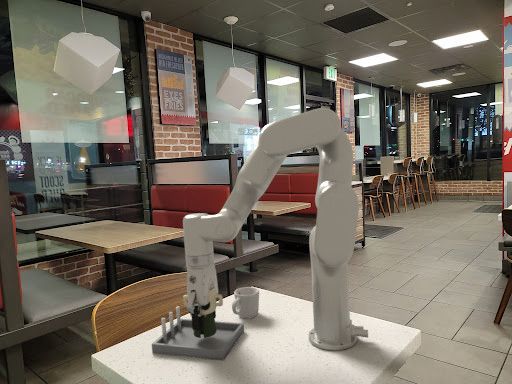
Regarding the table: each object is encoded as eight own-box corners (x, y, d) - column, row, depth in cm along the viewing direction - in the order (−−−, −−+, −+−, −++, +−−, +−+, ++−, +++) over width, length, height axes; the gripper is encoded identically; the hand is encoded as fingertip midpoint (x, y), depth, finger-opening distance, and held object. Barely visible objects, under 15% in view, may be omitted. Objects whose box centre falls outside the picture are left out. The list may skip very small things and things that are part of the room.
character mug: (181, 341, 98) (178, 293, 97) (189, 329, 105) (186, 284, 104) (222, 340, 97) (218, 292, 96) (227, 328, 104) (224, 283, 103)
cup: (244, 326, 110) (242, 300, 110) (224, 320, 115) (222, 295, 114) (265, 313, 119) (264, 289, 118) (246, 308, 124) (244, 285, 123)
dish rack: (244, 331, 106) (242, 305, 106) (223, 361, 91) (221, 330, 91) (181, 326, 112) (179, 301, 112) (152, 353, 97) (150, 324, 97)
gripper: (198, 269, 90) (203, 339, 92) (224, 251, 107) (229, 311, 108) (171, 268, 92) (176, 337, 94) (201, 251, 109) (205, 310, 110)
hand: (204, 323), depth 101 cm, fingers closed on character mug, 7 cm apart
